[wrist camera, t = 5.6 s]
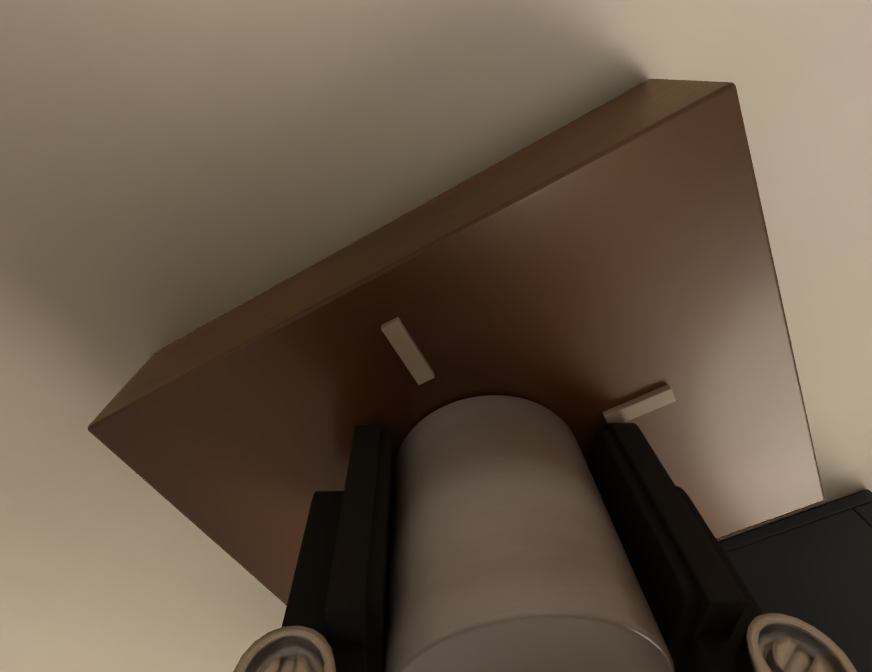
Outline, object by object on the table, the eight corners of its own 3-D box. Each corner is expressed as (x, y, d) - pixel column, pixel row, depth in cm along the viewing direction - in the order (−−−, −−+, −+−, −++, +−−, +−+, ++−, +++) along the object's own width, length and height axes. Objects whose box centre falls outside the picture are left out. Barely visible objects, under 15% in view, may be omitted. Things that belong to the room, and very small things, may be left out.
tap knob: (356, 447, 10) (318, 710, 6) (531, 360, 9) (628, 595, 5) (451, 556, 12) (471, 820, 8) (606, 490, 11) (723, 746, 7)
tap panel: (365, 575, 17) (356, 675, 14) (152, 352, 13) (79, 434, 10) (750, 421, 14) (831, 506, 12) (651, 77, 10) (743, 80, 7)
